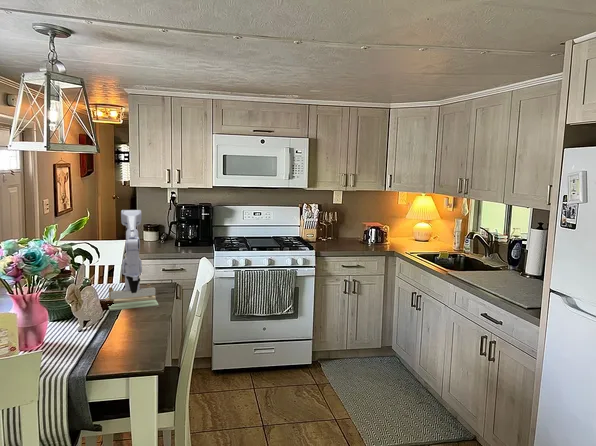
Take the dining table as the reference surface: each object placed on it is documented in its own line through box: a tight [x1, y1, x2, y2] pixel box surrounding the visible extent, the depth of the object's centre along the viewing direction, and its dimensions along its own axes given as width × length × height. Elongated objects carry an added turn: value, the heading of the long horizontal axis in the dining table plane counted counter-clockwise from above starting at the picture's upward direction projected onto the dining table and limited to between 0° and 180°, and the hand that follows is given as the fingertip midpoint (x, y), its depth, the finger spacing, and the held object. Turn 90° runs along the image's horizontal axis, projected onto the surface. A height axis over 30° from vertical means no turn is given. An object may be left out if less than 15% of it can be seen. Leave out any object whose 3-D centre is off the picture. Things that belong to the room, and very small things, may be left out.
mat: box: [108, 299, 159, 312], centre depth 229 cm, size 8×22×1 cm, turn 117°
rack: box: [104, 283, 157, 304], centre depth 237 cm, size 7×23×6 cm, turn 117°
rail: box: [111, 286, 156, 299], centre depth 228 cm, size 20×3×3 cm, turn 117°
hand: (133, 291), depth 228 cm, fingers closed on rail, 3 cm apart
